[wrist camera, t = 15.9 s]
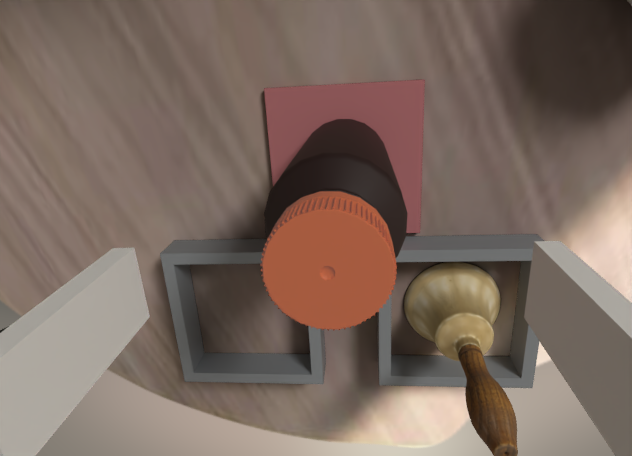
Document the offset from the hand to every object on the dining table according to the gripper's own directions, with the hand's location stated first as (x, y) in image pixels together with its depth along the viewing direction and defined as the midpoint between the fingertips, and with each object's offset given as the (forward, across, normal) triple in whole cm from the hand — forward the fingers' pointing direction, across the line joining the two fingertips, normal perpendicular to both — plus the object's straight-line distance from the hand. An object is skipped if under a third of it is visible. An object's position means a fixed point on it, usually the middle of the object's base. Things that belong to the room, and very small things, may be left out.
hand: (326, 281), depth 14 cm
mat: (+21, 0, -1) cm, 22 cm away
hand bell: (+22, +9, -14) cm, 27 cm away
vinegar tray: (+21, -9, -14) cm, 27 cm away
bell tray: (+21, +9, -14) cm, 27 cm away
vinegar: (+21, 0, 0) cm, 21 cm away
